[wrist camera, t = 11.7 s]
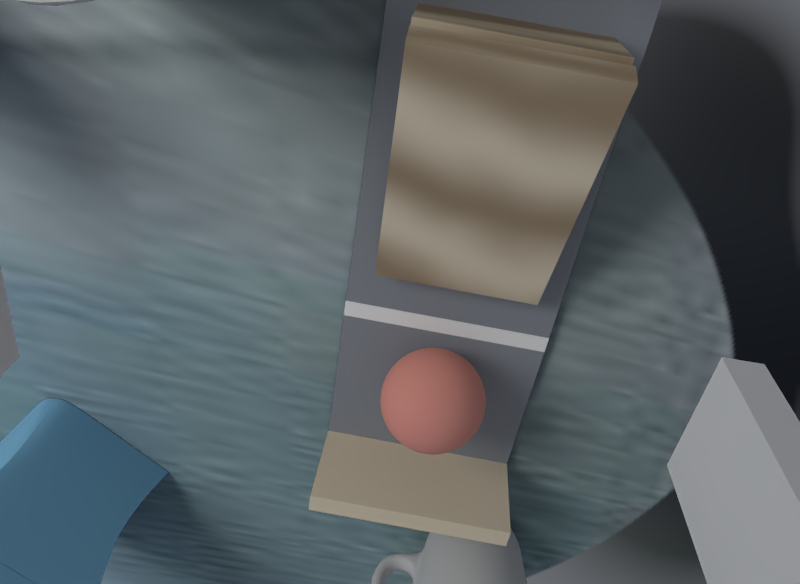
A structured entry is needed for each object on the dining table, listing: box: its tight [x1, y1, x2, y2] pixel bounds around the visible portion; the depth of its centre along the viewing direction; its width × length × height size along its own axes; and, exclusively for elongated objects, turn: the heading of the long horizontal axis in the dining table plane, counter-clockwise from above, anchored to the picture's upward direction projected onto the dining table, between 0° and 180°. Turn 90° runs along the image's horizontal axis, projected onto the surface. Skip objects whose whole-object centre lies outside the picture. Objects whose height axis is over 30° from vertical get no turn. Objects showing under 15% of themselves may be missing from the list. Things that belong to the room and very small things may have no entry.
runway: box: [309, 0, 663, 546], centre depth 35 cm, size 30×12×6 cm, turn 171°
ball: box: [380, 348, 486, 455], centre depth 38 cm, size 6×6×6 cm
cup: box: [371, 528, 527, 584], centre depth 45 cm, size 11×8×8 cm
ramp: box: [375, 2, 638, 305], centre depth 31 cm, size 14×9×6 cm, turn 171°
